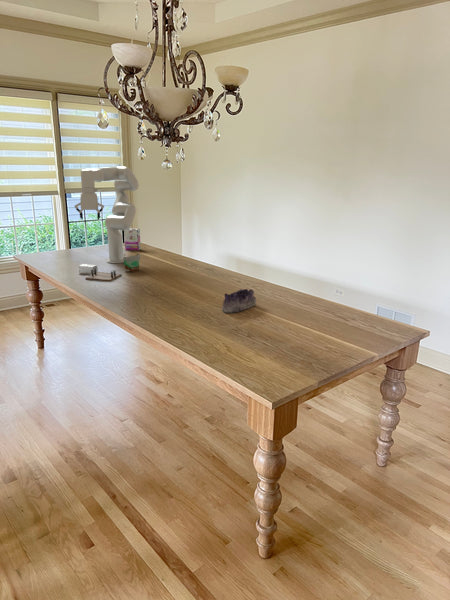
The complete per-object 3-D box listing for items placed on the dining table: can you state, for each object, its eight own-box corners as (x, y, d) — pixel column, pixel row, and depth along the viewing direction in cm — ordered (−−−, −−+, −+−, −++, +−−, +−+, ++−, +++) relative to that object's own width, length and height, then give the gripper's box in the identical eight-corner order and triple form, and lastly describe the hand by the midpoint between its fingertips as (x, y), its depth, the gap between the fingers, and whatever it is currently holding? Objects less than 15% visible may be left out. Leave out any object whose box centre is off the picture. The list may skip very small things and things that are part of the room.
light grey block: (83, 271, 276) (83, 263, 274) (97, 272, 273) (97, 265, 272) (79, 273, 271) (78, 265, 270) (93, 274, 269) (92, 267, 267)
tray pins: (95, 273, 266) (94, 268, 264) (116, 275, 262) (115, 270, 261) (91, 275, 261) (90, 270, 260) (112, 277, 258) (112, 272, 257)
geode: (236, 317, 202) (234, 296, 199) (217, 314, 209) (215, 294, 206) (260, 304, 217) (258, 285, 214) (242, 302, 224) (240, 283, 221)
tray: (98, 273, 270) (98, 271, 270) (121, 275, 266) (121, 274, 266) (85, 279, 258) (85, 277, 257) (109, 281, 254) (109, 279, 253)
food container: (130, 273, 271) (129, 258, 268) (123, 272, 275) (122, 256, 272) (144, 270, 281) (144, 254, 278) (138, 268, 284) (137, 253, 281)
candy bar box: (140, 249, 342) (140, 228, 337) (138, 250, 338) (137, 229, 332) (127, 248, 344) (126, 227, 339) (125, 249, 339) (123, 228, 334)
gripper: (103, 190, 268) (105, 218, 272) (74, 190, 264) (76, 218, 269) (103, 191, 261) (104, 220, 265) (72, 190, 257) (74, 220, 262)
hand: (90, 219), depth 267 cm, fingers open, 9 cm apart
